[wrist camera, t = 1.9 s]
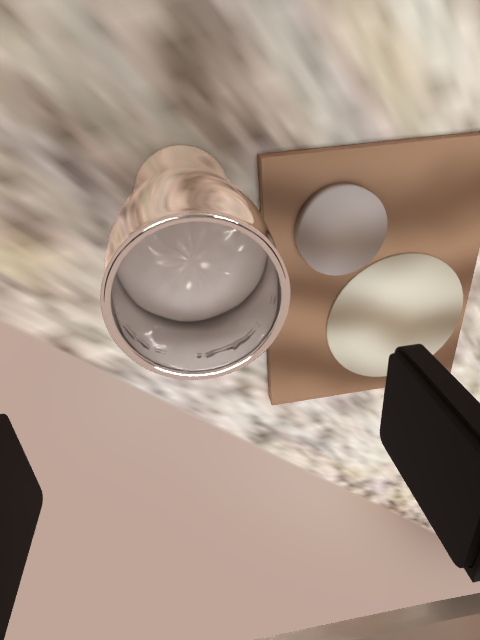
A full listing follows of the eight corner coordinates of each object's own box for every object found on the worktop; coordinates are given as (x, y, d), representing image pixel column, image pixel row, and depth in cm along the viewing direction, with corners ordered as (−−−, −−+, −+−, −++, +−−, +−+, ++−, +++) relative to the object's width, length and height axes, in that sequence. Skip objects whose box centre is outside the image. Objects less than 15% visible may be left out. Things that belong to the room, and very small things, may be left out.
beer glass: (114, 145, 25) (64, 223, 13) (229, 129, 26) (292, 189, 13) (141, 253, 29) (123, 399, 16) (241, 237, 30) (300, 367, 17)
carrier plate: (257, 154, 27) (265, 161, 25) (494, 129, 28) (519, 134, 26) (268, 396, 37) (274, 415, 35) (441, 368, 39) (457, 385, 37)
